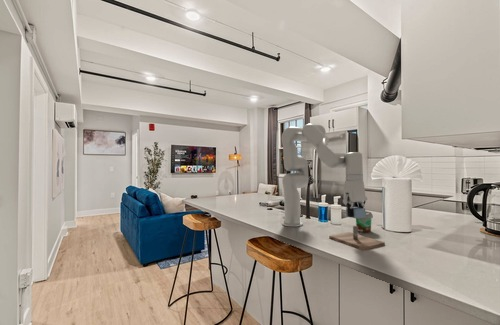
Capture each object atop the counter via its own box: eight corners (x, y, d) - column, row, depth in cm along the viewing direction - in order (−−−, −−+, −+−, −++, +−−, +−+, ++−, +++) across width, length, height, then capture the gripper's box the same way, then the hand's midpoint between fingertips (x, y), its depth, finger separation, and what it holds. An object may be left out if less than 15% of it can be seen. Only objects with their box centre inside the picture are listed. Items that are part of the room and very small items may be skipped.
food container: (367, 235, 127) (366, 215, 127) (355, 232, 132) (355, 214, 132) (377, 230, 135) (376, 212, 135) (365, 228, 140) (365, 210, 140)
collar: (346, 216, 118) (346, 208, 118) (355, 215, 121) (354, 206, 121) (356, 218, 113) (356, 209, 113) (365, 217, 115) (365, 208, 115)
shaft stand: (329, 238, 123) (328, 223, 123) (349, 234, 129) (348, 220, 129) (363, 250, 105) (363, 233, 105) (384, 245, 111) (384, 229, 111)
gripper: (360, 177, 124) (361, 212, 124) (335, 178, 117) (336, 216, 116) (373, 177, 118) (374, 215, 117) (347, 179, 110) (349, 219, 110)
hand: (355, 215), depth 117 cm, fingers closed on collar, 6 cm apart
